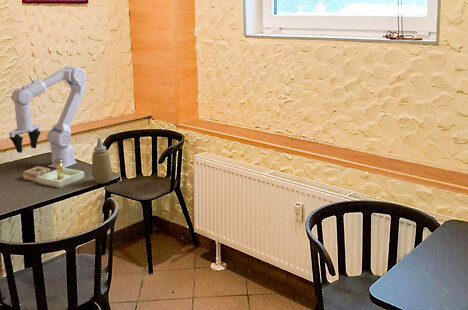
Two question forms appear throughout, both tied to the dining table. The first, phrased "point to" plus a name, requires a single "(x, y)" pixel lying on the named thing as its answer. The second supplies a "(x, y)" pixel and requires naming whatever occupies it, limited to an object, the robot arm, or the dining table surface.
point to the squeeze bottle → (101, 164)
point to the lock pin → (59, 169)
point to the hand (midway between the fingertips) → (26, 150)
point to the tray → (69, 178)
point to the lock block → (35, 173)
